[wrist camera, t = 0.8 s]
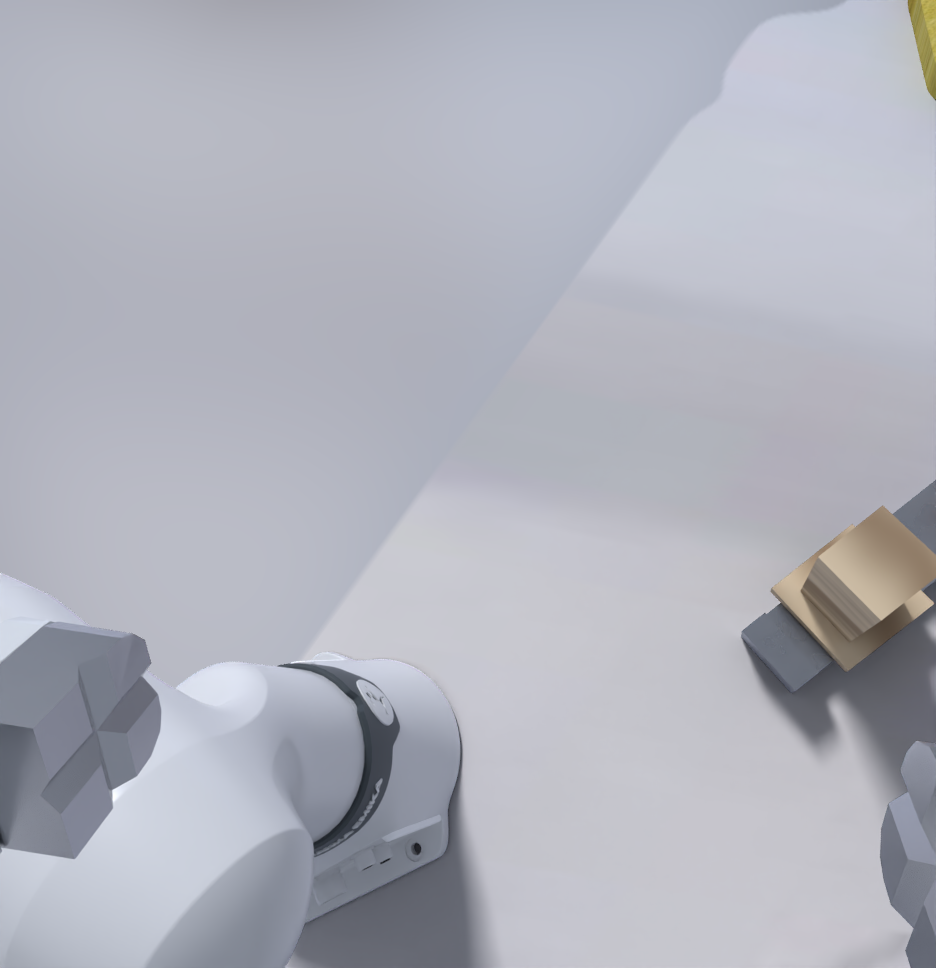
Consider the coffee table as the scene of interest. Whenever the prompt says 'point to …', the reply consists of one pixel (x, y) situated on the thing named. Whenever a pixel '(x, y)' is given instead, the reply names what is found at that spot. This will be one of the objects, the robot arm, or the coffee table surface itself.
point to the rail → (790, 643)
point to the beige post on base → (860, 587)
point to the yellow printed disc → (925, 38)
